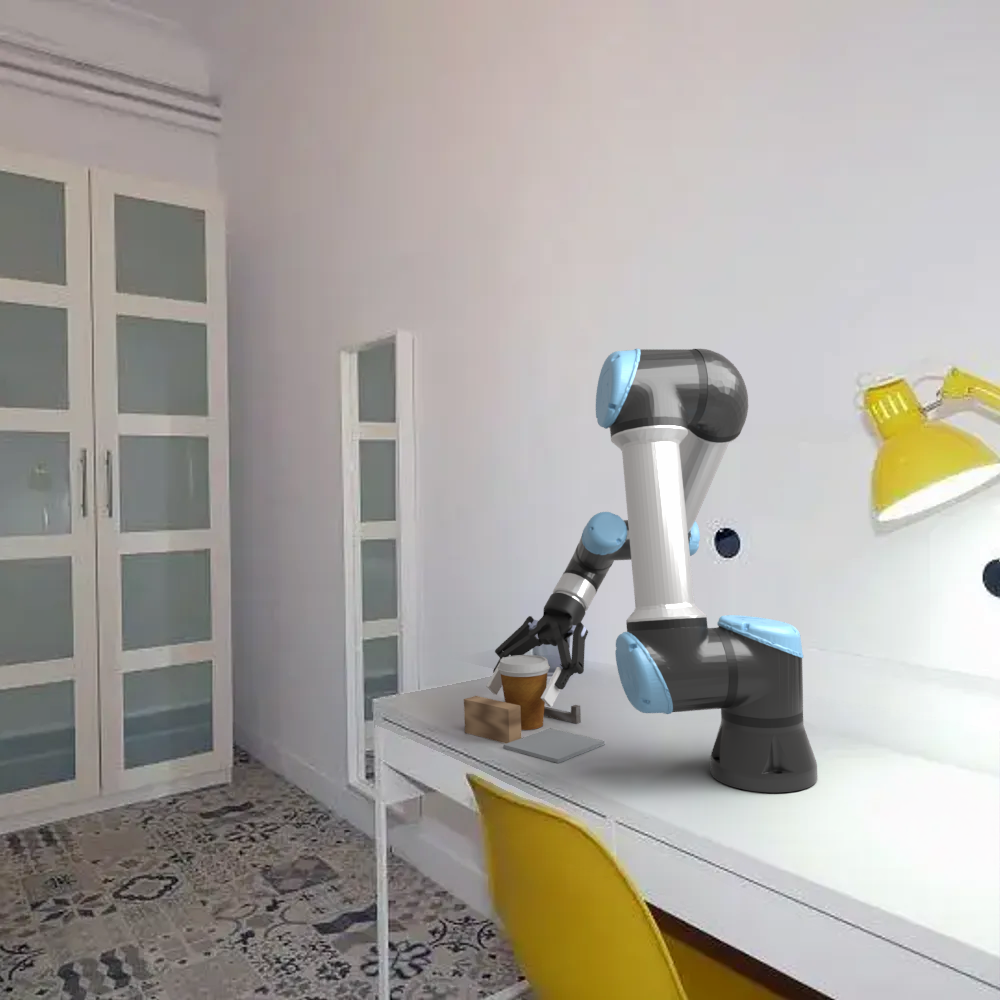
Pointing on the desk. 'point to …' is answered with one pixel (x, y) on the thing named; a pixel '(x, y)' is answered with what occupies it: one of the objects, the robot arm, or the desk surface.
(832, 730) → the desk surface
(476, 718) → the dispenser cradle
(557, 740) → the grey mat
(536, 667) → the disposable coffee cup
